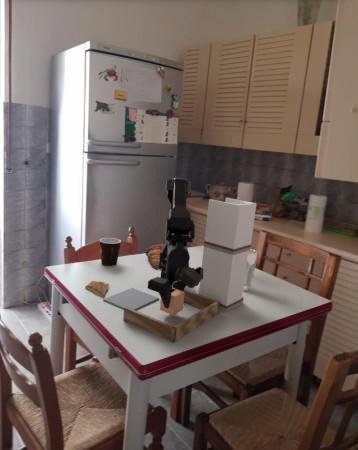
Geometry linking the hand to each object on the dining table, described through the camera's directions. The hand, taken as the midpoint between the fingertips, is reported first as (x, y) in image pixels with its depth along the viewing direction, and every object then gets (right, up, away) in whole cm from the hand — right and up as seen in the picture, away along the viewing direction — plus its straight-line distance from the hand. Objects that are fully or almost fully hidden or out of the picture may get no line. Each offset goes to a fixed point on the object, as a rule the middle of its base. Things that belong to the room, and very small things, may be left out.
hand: (171, 305), depth 115 cm
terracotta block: (0, -2, 0) cm, 2 cm away
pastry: (-6, +8, +52) cm, 52 cm away
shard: (-25, +2, +16) cm, 29 cm away
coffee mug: (-27, +8, +41) cm, 50 cm away
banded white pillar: (+16, -2, +15) cm, 22 cm away
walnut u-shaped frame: (0, -4, 0) cm, 4 cm away
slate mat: (-14, 0, +9) cm, 16 cm away
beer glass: (+27, 0, +29) cm, 40 cm away
